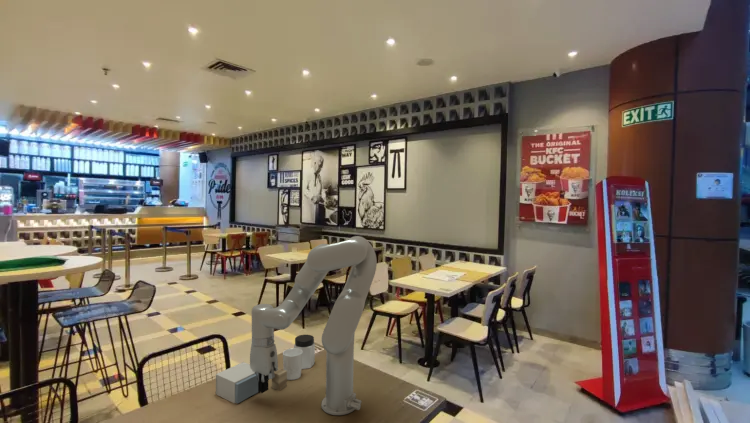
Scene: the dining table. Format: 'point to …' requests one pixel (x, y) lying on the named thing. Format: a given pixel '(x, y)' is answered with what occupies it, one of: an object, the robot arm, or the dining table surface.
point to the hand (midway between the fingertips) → (263, 391)
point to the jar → (306, 349)
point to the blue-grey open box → (246, 388)
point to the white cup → (292, 363)
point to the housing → (231, 380)
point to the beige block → (279, 379)
